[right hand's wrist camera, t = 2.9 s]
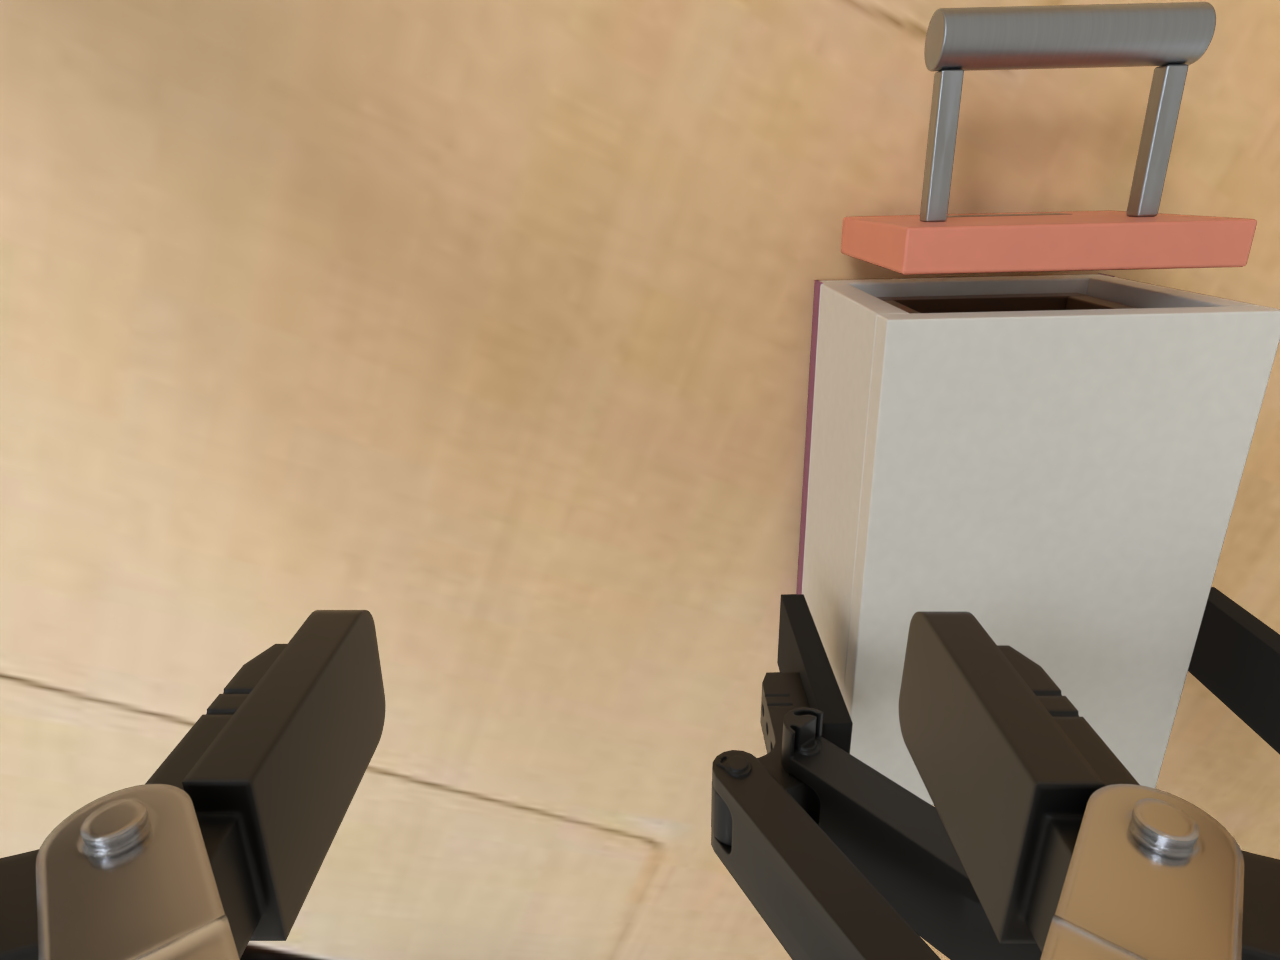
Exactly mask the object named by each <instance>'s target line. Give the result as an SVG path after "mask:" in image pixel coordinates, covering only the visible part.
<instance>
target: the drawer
mask: <svg viewBox="0 0 1280 960" xmlns="http://www.w3.org/2000/svg"><path fill="white" fill-rule="evenodd" d="M1215 25H1216V14H1215V10H1214V8H1213V6H1212V5H1211V4H1209V3H1207V2H1184V3H1143V4H1102V5H1061V6H1020V7H979V8H940V9H938V10H937V11H936V12H935V13H934V14H933V16H932V18H931V21H930V24H929V27H928V30H927V35H926V41H925V63H926V67H927V69H928V70H929V71H939V72H936V73H935V76H934V85H933V95H932V105H931V114H930V124H929V134H928V143H927V153H926V163H925V172H924V182H923V192H922V202H921V211H920V215H905V216H862V217H845V218H844V219H843V231H842V245H841V252H842V253H843V254H846V255H849V256H852V257H855V258H858V259H860V260H863V261H866V262H869V263H872V264H875V265H878V266H881V267H884V268H887V269H890V270H893V271H896V272H899V273H901V274H904V275H910V274H953V273H997V272H1040V271H1084V270H1127V269H1170V268H1214V267H1243V266H1245V265H1246V264H1247V260H1248V256H1249V252H1250V249H1251V245H1252V241H1253V237H1254V233H1255V229H1256V225H1257V221H1256V220H1254V219H1243V218H1226V217H1209V216H1192V215H1175V214H1158V210H1159V205H1160V200H1161V195H1162V190H1163V186H1164V181H1165V176H1166V171H1167V166H1168V162H1169V157H1170V152H1171V147H1172V142H1173V138H1174V133H1175V128H1176V123H1177V118H1178V114H1179V109H1180V104H1181V99H1182V94H1183V90H1184V85H1185V80H1186V75H1187V70H1188V65H1190V64H1192V63H1194V62H1196V61H1197V60H1198V59H1199V58H1200V57H1201V56H1202V55H1203V54H1204V53H1205V51H1206V50H1207V48H1208V46H1209V44H1210V42H1211V40H1212V37H1213V34H1214V30H1215ZM1134 66H1159V67H1156V68H1155V70H1154V74H1153V79H1152V85H1151V90H1150V95H1149V100H1148V105H1147V110H1146V115H1145V121H1144V126H1143V131H1142V136H1141V141H1140V146H1139V151H1138V157H1137V162H1136V167H1135V172H1134V177H1133V182H1132V187H1131V193H1130V198H1129V203H1128V208H1127V212H1124V211H1076V212H1033V213H991V214H948V215H947V212H948V204H949V195H950V186H951V178H952V169H953V160H954V152H955V143H956V134H957V125H958V117H959V108H960V99H961V91H962V82H963V73H964V71H968V70H1009V69H1051V68H1093V67H1134ZM876 298H878V299H880V300H883V301H885V302H887V303H889V304H891V305H893V306H895V307H897V308H899V309H901V310H903V311H906V312H908V313H910V314H913V313H957V312H1001V311H1045V310H1089V309H1133V308H1136V307H1132V306H1128V305H1124V304H1120V303H1116V302H1112V301H1108V300H1104V299H1100V298H1096V297H1092V296H1088V295H1085V294H1081V293H1041V294H998V295H954V296H910V297H876Z"/></svg>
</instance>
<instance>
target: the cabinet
mask: <svg viewBox="0 0 1280 960" xmlns="http://www.w3.org/2000/svg"><path fill="white" fill-rule="evenodd" d="M1041 293H1081V294H1085V295H1088V296H1092V297H1096V298H1100V299H1104V300H1108V301H1112V302H1116V303H1120V304H1124V305H1128V306H1132V307H1136V308H1133V309H1089V310H1045V311H1001V312H957V313H913V314H910V313H908V312H906V311H903V310H901V309H899V308H897V307H895V306H893V305H891V304H889V303H887V302H885V301H883V300H880V299H878V298H876V297H910V296H954V295H998V294H1041ZM1279 340H1280V309H1275V308H1270V307H1265V306H1258V305H1254V304H1249V303H1244V302H1239V301H1234V300H1229V299H1224V298H1219V297H1214V296H1209V295H1204V294H1199V293H1194V292H1188V291H1183V290H1178V289H1173V288H1168V287H1163V286H1158V285H1153V284H1148V283H1143V282H1138V281H1133V280H1127V279H1122V278H1117V277H1115V276H1111V275H1106V274H1085V275H1041V276H998V277H954V278H911V279H867V280H824V281H819V280H815V286H814V303H813V320H812V337H811V355H810V372H809V389H808V406H807V423H806V440H805V457H804V475H803V492H802V509H801V526H800V543H799V560H798V578H797V594H804V597H805V599H806V602H807V605H808V607H809V610H810V612H811V615H812V618H813V620H814V623H815V626H816V628H817V631H818V633H819V636H820V639H821V641H822V644H823V647H824V649H825V652H826V654H827V657H828V660H829V662H830V665H831V668H832V670H833V673H834V675H835V678H836V681H837V683H838V686H839V688H840V691H841V694H842V696H843V699H844V702H845V704H846V707H847V709H848V712H849V715H850V717H851V720H852V723H853V726H852V736H851V746H850V754H851V755H852V756H854V757H855V758H857V759H859V760H860V761H862V762H863V763H865V764H867V765H868V766H870V767H871V768H873V769H875V770H876V771H878V772H879V773H881V774H883V775H884V776H886V777H887V778H889V779H891V780H892V781H894V782H895V783H897V784H899V785H900V786H902V787H903V788H905V789H907V790H908V791H910V792H911V793H913V794H915V795H916V796H918V797H919V798H921V799H922V800H924V801H926V802H927V803H929V804H930V805H934V804H933V802H932V800H931V797H930V795H929V793H928V791H927V789H926V787H925V785H924V783H923V781H922V779H921V776H920V774H919V772H918V770H917V768H916V766H915V764H914V762H913V760H912V757H911V755H910V753H909V751H908V749H907V747H906V745H905V742H904V740H903V736H902V733H901V728H900V721H899V695H900V688H901V682H902V675H903V668H904V661H905V654H906V647H907V640H908V633H909V626H910V622H911V619H912V617H913V615H914V614H915V613H916V612H919V611H967V612H970V613H971V614H973V615H974V616H975V618H976V619H977V620H978V622H979V623H980V624H981V625H982V627H983V628H984V629H985V631H986V632H987V633H988V634H989V636H990V637H991V638H992V640H993V641H994V642H995V643H996V645H1009V646H1011V647H1012V648H1014V649H1015V650H1017V651H1018V652H1020V653H1021V654H1023V655H1024V656H1026V657H1027V658H1029V659H1030V660H1032V661H1034V662H1035V663H1037V664H1038V665H1040V666H1041V667H1042V668H1043V669H1044V671H1045V672H1046V673H1047V674H1048V675H1049V677H1050V678H1051V679H1052V680H1053V681H1054V683H1055V684H1056V685H1057V686H1058V687H1059V689H1060V690H1061V694H1062V696H1066V697H1067V698H1068V699H1069V701H1070V702H1071V703H1072V704H1073V705H1074V707H1075V708H1076V709H1077V710H1078V714H1079V717H1084V719H1085V720H1086V721H1087V722H1088V723H1089V725H1090V726H1091V727H1092V728H1093V729H1094V730H1095V732H1096V733H1097V734H1098V735H1099V736H1100V738H1101V739H1102V740H1103V741H1104V742H1105V744H1106V745H1107V746H1108V747H1109V748H1110V750H1111V751H1112V752H1113V753H1114V754H1115V756H1116V757H1117V758H1118V759H1119V760H1120V762H1121V763H1122V764H1123V765H1124V766H1125V768H1126V769H1127V770H1128V771H1129V772H1130V774H1131V775H1132V776H1133V777H1134V778H1135V780H1136V781H1137V782H1138V783H1139V784H1140V785H1141V786H1146V787H1151V788H1155V787H1156V783H1157V780H1158V776H1159V773H1160V769H1161V765H1162V762H1163V758H1164V755H1165V751H1166V747H1167V744H1168V740H1169V737H1170V733H1171V729H1172V726H1173V722H1174V719H1175V715H1176V711H1177V708H1178V704H1179V701H1180V697H1181V693H1182V690H1183V686H1184V683H1185V679H1186V675H1187V672H1188V668H1189V665H1190V661H1191V657H1192V654H1193V650H1194V647H1195V643H1196V639H1197V636H1198V632H1199V629H1200V625H1201V621H1202V618H1203V614H1204V611H1205V607H1206V603H1207V600H1208V596H1209V592H1210V589H1211V585H1212V582H1213V578H1214V574H1215V571H1216V567H1217V564H1218V560H1219V556H1220V553H1221V549H1222V546H1223V542H1224V538H1225V535H1226V531H1227V528H1228V524H1229V520H1230V517H1231V513H1232V510H1233V506H1234V502H1235V499H1236V495H1237V492H1238V488H1239V484H1240V481H1241V477H1242V474H1243V470H1244V466H1245V463H1246V459H1247V456H1248V452H1249V448H1250V445H1251V441H1252V438H1253V434H1254V430H1255V427H1256V423H1257V420H1258V416H1259V412H1260V409H1261V405H1262V402H1263V398H1264V394H1265V391H1266V387H1267V384H1268V380H1269V376H1270V373H1271V369H1272V365H1273V362H1274V358H1275V355H1276V351H1277V347H1278V344H1279Z"/></svg>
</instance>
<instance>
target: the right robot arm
mask: <svg viewBox="0 0 1280 960" xmlns="http://www.w3.org/2000/svg"><path fill="white" fill-rule="evenodd" d="M384 719H385V695H384V688H383V681H382V674H381V667H380V659H379V652H378V645H377V638H376V631H375V625H374V620H373V617H372V615H371V614H370V612H369V611H367V610H316V611H314V612H312V614H311V615H310V616H309V617H308V618H307V620H306V621H305V622H304V624H303V625H302V626H301V627H300V629H299V630H298V631H297V633H296V634H295V635H294V637H293V638H292V639H291V640H290V642H289V643H288V644H275V645H273V646H272V647H270V648H269V649H267V650H266V651H264V652H263V653H261V654H260V655H258V656H257V657H255V658H254V659H252V660H250V661H249V662H247V663H246V664H244V665H243V667H242V668H241V669H240V670H239V671H238V673H237V674H236V675H235V676H234V677H233V679H232V680H231V681H230V682H229V683H228V685H227V686H226V687H225V688H224V693H223V694H219V696H218V697H217V698H216V699H215V700H214V702H213V703H212V704H211V705H210V706H209V708H208V709H207V714H206V715H202V716H201V717H200V719H199V720H198V721H197V722H196V723H195V725H194V726H193V727H192V728H191V729H190V731H189V732H188V733H187V734H186V735H185V737H184V738H183V739H182V740H181V741H180V743H179V744H178V745H177V746H176V748H175V749H174V750H173V751H172V752H171V754H170V755H169V756H168V757H167V758H166V760H165V761H164V762H163V763H162V764H161V766H160V767H159V768H158V769H157V770H156V772H155V773H154V774H153V775H152V776H151V778H150V779H149V780H148V781H147V783H146V784H145V785H139V786H134V787H129V788H125V789H122V790H119V791H116V792H113V793H110V794H108V795H105V796H103V797H101V798H98V799H97V800H95V801H93V802H91V803H89V804H87V805H85V806H84V807H82V808H80V809H79V810H77V811H76V812H74V813H73V814H71V815H70V816H69V817H67V818H66V819H65V820H63V821H62V822H61V823H60V824H59V825H58V826H57V827H56V828H55V829H54V830H53V831H52V832H51V833H50V834H49V836H48V837H47V838H46V839H45V841H44V842H43V844H42V845H41V847H40V849H39V850H35V851H31V852H26V853H22V854H18V855H13V856H9V857H5V858H0V960H240V958H241V956H242V954H243V952H244V950H245V948H246V946H247V944H248V942H249V941H286V939H287V937H288V935H289V933H290V931H291V928H292V926H293V924H294V922H295V920H296V918H297V916H298V914H299V911H300V909H301V907H302V905H303V903H304V901H305V899H306V896H307V894H308V892H309V890H310V888H311V886H312V884H313V882H314V879H315V877H316V875H317V873H318V871H319V869H320V867H321V865H322V862H323V860H324V858H325V856H326V854H327V852H328V850H329V848H330V845H331V843H332V841H333V839H334V837H335V835H336V833H337V830H338V828H339V826H340V824H341V822H342V820H343V818H344V816H345V813H346V811H347V809H348V807H349V805H350V803H351V801H352V799H353V796H354V794H355V792H356V790H357V788H358V786H359V784H360V782H361V779H362V777H363V775H364V773H365V771H366V769H367V767H368V765H369V762H370V760H371V758H372V756H373V754H374V752H375V750H376V747H377V745H378V743H379V741H380V738H381V735H382V731H383V726H384ZM899 721H900V728H901V733H902V736H903V740H904V742H905V745H906V747H907V749H908V751H909V753H910V755H911V757H912V760H913V762H914V764H915V766H916V768H917V770H918V772H919V774H920V776H921V779H922V781H923V783H924V785H925V787H926V789H927V791H928V793H929V795H930V797H931V800H932V802H933V804H934V806H935V808H936V810H937V812H938V814H939V816H940V818H941V821H942V823H943V825H944V827H945V829H946V831H947V833H948V835H949V837H950V840H951V842H952V844H953V846H954V848H955V850H956V852H957V854H958V856H959V858H960V861H961V863H962V865H963V867H964V869H965V871H966V873H967V875H968V877H969V879H970V882H971V884H972V886H973V888H974V890H975V892H976V894H977V896H978V898H979V900H980V903H981V905H982V907H983V909H984V911H985V913H986V915H987V917H988V919H989V922H990V924H991V926H992V928H993V930H994V932H995V934H996V936H997V938H998V940H999V943H1000V944H1037V945H1038V947H1039V949H1040V951H1041V952H1042V956H1041V959H1040V960H1280V860H1278V859H1274V858H1270V857H1266V856H1261V855H1257V854H1253V853H1249V852H1245V851H1242V850H1241V849H1240V847H1239V845H1238V844H1237V842H1236V841H1235V839H1234V838H1233V837H1232V836H1231V834H1230V833H1229V832H1228V831H1227V830H1226V829H1225V828H1224V827H1223V826H1222V825H1221V824H1220V823H1219V822H1218V821H1217V820H1215V819H1214V818H1213V817H1211V816H1210V815H1209V814H1207V813H1206V812H1204V811H1203V810H1201V809H1200V808H1198V807H1196V806H1195V805H1193V804H1191V803H1189V802H1187V801H1185V800H1183V799H1182V798H1179V797H1177V796H1175V795H1172V794H1170V793H1167V792H1164V791H1161V790H1158V789H1155V788H1151V787H1146V786H1141V785H1140V784H1139V783H1138V782H1137V781H1136V780H1135V778H1134V777H1133V776H1132V775H1131V774H1130V772H1129V771H1128V770H1127V769H1126V768H1125V766H1124V765H1123V764H1122V763H1121V762H1120V760H1119V759H1118V758H1117V757H1116V756H1115V754H1114V753H1113V752H1112V751H1111V750H1110V748H1109V747H1108V746H1107V745H1106V744H1105V742H1104V741H1103V740H1102V739H1101V738H1100V736H1099V735H1098V734H1097V733H1096V732H1095V730H1094V729H1093V728H1092V727H1091V726H1090V725H1089V723H1088V722H1087V721H1086V720H1085V719H1084V717H1079V714H1078V710H1077V709H1076V708H1075V707H1074V705H1073V704H1072V703H1071V702H1070V701H1069V699H1068V698H1067V697H1066V696H1062V694H1061V690H1060V689H1059V687H1058V686H1057V685H1056V684H1055V683H1054V681H1053V680H1052V679H1051V678H1050V677H1049V675H1048V674H1047V673H1046V672H1045V671H1044V669H1043V668H1042V667H1041V666H1040V665H1038V664H1037V663H1035V662H1034V661H1032V660H1030V659H1029V658H1027V657H1026V656H1024V655H1023V654H1021V653H1020V652H1018V651H1017V650H1015V649H1014V648H1012V647H1011V646H1009V645H996V643H995V642H994V641H993V640H992V638H991V637H990V636H989V634H988V633H987V632H986V631H985V629H984V628H983V627H982V625H981V624H980V623H979V622H978V620H977V619H976V618H975V616H974V615H973V614H971V613H970V612H967V611H919V612H916V613H915V614H914V615H913V617H912V619H911V622H910V626H909V633H908V640H907V647H906V654H905V661H904V668H903V675H902V682H901V688H900V695H899Z"/></svg>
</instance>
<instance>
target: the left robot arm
mask: <svg viewBox="0 0 1280 960" xmlns="http://www.w3.org/2000/svg"><path fill="white" fill-rule="evenodd" d="M778 666H779V670H780V672H778V673H766V676H765V678H764V680H763V683H762V703H761V726H762V731H763V734H764V740H765V744H766V750H767V754H766V755H765V756H762V757H760V758H756V757H754V756H753V755H752V754H750V753H747V752H744V751H737V750H731V751H727V752H723V753H722V754H720V755H718V756H717V757H716V758H715V760H714V761H713V772H712V813H711V828H712V833H711V845H712V847H713V849H714V851H715V853H716V854H717V856H718V857H719V858H720V860H721V861H722V863H723V864H724V865H725V867H726V868H727V870H728V871H729V872H730V874H731V875H732V876H733V878H734V879H735V881H736V882H737V883H738V885H739V886H740V888H741V889H742V890H743V892H744V893H745V894H746V896H747V897H748V899H749V900H750V901H751V903H752V904H753V906H754V907H755V908H756V910H757V911H758V913H759V914H760V915H761V917H762V918H763V919H764V921H765V922H766V924H767V925H768V926H769V928H770V929H771V931H772V932H773V933H774V935H775V936H776V937H777V939H778V940H779V942H780V943H781V944H782V946H783V947H784V949H785V950H786V951H787V953H788V954H789V955H790V957H791V958H792V960H941V959H940V958H939V957H938V956H937V955H936V954H935V953H934V952H933V950H932V949H931V948H930V947H929V946H928V945H927V944H926V943H925V942H924V941H923V940H922V938H923V939H924V940H926V941H927V942H928V943H930V944H931V945H932V946H934V947H935V948H936V949H937V950H939V951H940V952H941V953H943V954H944V955H945V956H947V957H948V958H949V959H950V960H1040V959H1041V956H1042V952H1041V951H1040V949H1039V947H1038V945H1037V944H1000V943H999V940H998V938H997V936H996V934H995V932H994V930H993V928H992V926H991V924H990V922H989V919H988V917H987V915H986V913H985V911H984V909H983V907H982V905H981V903H980V900H979V898H978V896H977V894H976V892H975V890H974V888H973V886H972V884H971V882H970V879H969V877H968V875H967V873H966V871H965V869H964V867H963V865H962V863H961V861H960V858H959V856H958V854H957V852H956V850H955V848H954V846H953V844H952V842H951V840H950V837H949V835H948V833H947V831H946V829H945V827H944V825H943V823H942V821H941V818H940V816H939V814H938V812H937V810H936V808H935V807H934V806H932V805H930V804H929V803H927V802H926V801H924V800H922V799H921V798H919V797H918V796H916V795H915V794H913V793H911V792H910V791H908V790H907V789H905V788H903V787H902V786H900V785H899V784H897V783H895V782H894V781H892V780H891V779H889V778H887V777H886V776H884V775H883V774H881V773H879V772H878V771H876V770H875V769H873V768H871V767H870V766H868V765H867V764H865V763H863V762H862V761H860V760H859V759H857V758H855V757H854V756H852V755H851V754H850V746H851V736H852V726H853V723H852V720H851V717H850V715H849V712H848V709H847V707H846V704H845V702H844V699H843V696H842V694H841V691H840V688H839V686H838V683H837V681H836V678H835V675H834V673H833V670H832V668H831V665H830V662H829V660H828V657H827V654H826V652H825V649H824V647H823V644H822V641H821V639H820V636H819V633H818V631H817V628H816V626H815V623H814V620H813V618H812V615H811V612H810V610H809V607H808V605H807V602H806V599H805V597H804V594H792V595H781V606H780V625H779V645H778ZM1188 671H1189V672H1190V673H1191V674H1192V675H1193V676H1195V677H1196V678H1197V679H1198V680H1199V681H1200V682H1201V683H1202V684H1203V685H1204V686H1205V687H1207V688H1208V689H1209V690H1210V691H1211V692H1212V693H1213V694H1214V695H1215V696H1216V697H1218V698H1219V699H1220V700H1221V701H1222V702H1223V703H1224V704H1225V705H1226V706H1227V707H1228V708H1230V709H1231V710H1232V711H1233V712H1234V713H1235V714H1236V715H1237V716H1238V717H1239V718H1241V719H1242V720H1243V721H1244V722H1245V723H1246V724H1247V725H1248V726H1249V727H1250V728H1252V729H1253V730H1254V731H1255V732H1256V733H1257V734H1258V735H1259V736H1260V737H1261V738H1262V739H1264V740H1265V741H1266V742H1267V743H1268V744H1269V745H1270V746H1271V747H1272V748H1273V749H1275V750H1276V751H1277V752H1278V753H1279V754H1280V635H1279V634H1278V633H1277V632H1275V631H1274V630H1272V629H1271V628H1270V627H1268V626H1267V625H1265V624H1264V623H1263V622H1261V621H1260V620H1259V619H1257V618H1256V617H1254V616H1253V615H1252V614H1250V613H1249V612H1248V611H1246V610H1245V609H1243V608H1242V607H1241V606H1239V605H1238V604H1236V603H1235V602H1234V601H1232V600H1231V599H1230V598H1228V597H1227V596H1225V595H1224V594H1223V593H1221V592H1220V591H1219V590H1217V589H1216V588H1214V587H1211V589H1210V592H1209V596H1208V600H1207V603H1206V607H1205V611H1204V614H1203V618H1202V621H1201V625H1200V629H1199V632H1198V636H1197V639H1196V643H1195V647H1194V650H1193V654H1192V657H1191V661H1190V665H1189V668H1188ZM920 936H921V937H922V938H921V937H920Z"/></svg>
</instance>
